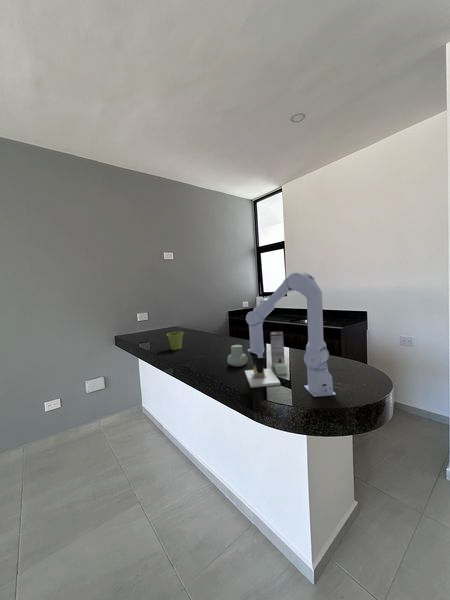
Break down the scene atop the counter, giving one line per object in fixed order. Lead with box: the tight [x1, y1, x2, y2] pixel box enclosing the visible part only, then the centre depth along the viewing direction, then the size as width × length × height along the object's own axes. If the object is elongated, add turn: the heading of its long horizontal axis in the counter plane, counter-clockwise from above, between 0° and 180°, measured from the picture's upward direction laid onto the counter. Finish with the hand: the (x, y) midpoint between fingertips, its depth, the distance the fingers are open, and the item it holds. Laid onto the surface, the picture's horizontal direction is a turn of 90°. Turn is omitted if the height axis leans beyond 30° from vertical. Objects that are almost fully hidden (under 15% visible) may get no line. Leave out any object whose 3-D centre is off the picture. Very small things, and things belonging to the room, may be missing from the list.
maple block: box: [252, 365, 265, 378], centre depth 108 cm, size 4×4×4 cm
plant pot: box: [166, 331, 184, 351], centre depth 177 cm, size 12×12×11 cm
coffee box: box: [269, 331, 286, 368], centre depth 126 cm, size 9×6×16 cm
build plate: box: [244, 368, 281, 388], centre depth 108 cm, size 18×12×1 cm, turn 3°
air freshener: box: [226, 344, 249, 367], centre depth 130 cm, size 11×8×10 cm
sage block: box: [274, 363, 287, 376], centre depth 114 cm, size 4×4×4 cm
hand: (258, 370), depth 108 cm, fingers open, 7 cm apart
